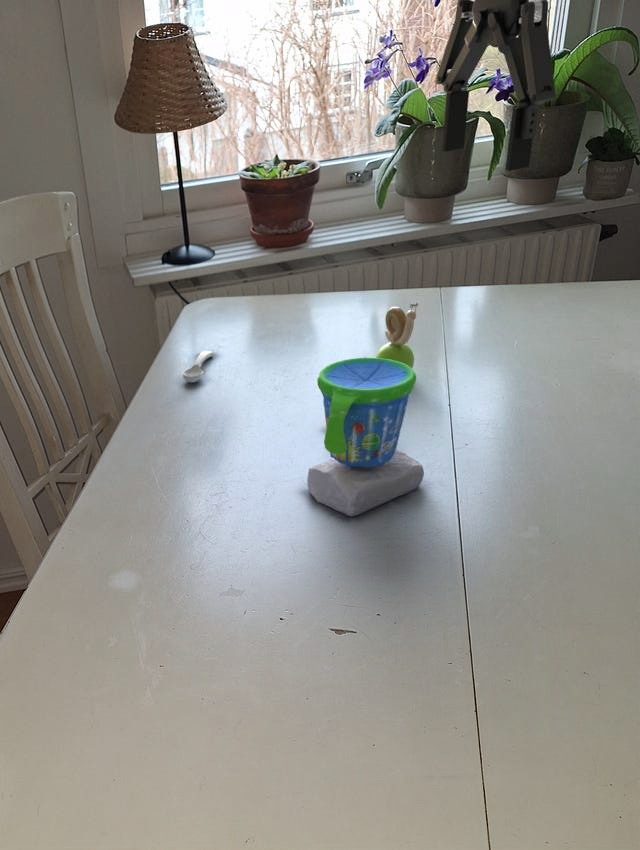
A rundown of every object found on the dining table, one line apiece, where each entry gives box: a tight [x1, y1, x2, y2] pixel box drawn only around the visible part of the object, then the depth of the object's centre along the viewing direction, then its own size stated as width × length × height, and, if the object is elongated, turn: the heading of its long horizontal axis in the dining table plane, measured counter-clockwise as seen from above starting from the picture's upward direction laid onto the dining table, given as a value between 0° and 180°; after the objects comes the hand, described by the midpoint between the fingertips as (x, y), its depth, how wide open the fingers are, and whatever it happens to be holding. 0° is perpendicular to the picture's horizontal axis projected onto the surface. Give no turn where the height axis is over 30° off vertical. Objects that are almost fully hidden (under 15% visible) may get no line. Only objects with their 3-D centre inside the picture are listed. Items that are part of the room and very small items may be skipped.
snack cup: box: [317, 357, 417, 467], centre depth 105 cm, size 16×10×10 cm
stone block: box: [306, 448, 425, 517], centre depth 110 cm, size 12×5×10 cm
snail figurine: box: [375, 302, 419, 369], centre depth 130 cm, size 5×6×12 cm
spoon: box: [182, 350, 214, 383], centre depth 143 cm, size 3×12×2 cm, turn 165°
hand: (483, 158), depth 114 cm, fingers open, 13 cm apart
